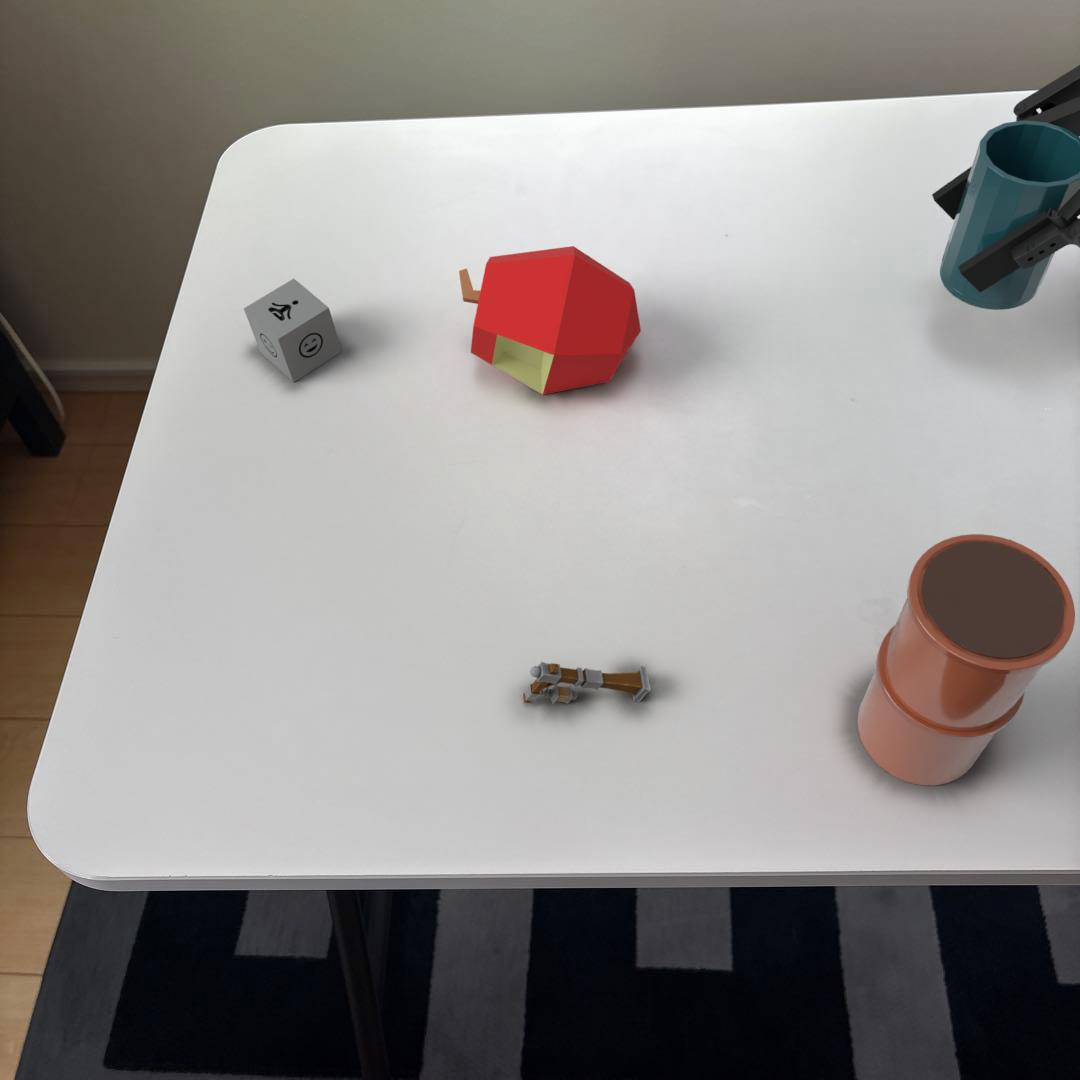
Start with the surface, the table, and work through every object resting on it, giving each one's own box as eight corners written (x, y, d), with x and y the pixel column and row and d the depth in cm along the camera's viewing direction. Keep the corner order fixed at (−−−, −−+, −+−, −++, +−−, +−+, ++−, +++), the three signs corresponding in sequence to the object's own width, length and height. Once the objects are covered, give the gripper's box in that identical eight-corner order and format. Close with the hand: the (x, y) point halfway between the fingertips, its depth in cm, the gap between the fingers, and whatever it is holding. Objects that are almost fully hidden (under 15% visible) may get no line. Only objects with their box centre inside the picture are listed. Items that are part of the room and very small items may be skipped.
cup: (1039, 315, 79) (1094, 191, 70) (937, 303, 80) (978, 179, 71) (1038, 251, 83) (1090, 125, 74) (941, 240, 84) (980, 115, 75)
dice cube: (260, 352, 91) (243, 308, 87) (308, 322, 92) (293, 278, 88) (293, 382, 88) (277, 339, 84) (341, 351, 90) (328, 307, 86)
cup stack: (984, 803, 65) (1078, 682, 52) (847, 775, 67) (905, 651, 53) (986, 685, 70) (1074, 546, 56) (857, 661, 71) (914, 521, 58)
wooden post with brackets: (509, 685, 70) (533, 652, 67) (619, 694, 73) (647, 663, 70) (511, 709, 69) (536, 677, 66) (622, 719, 72) (651, 688, 69)
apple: (618, 436, 85) (433, 397, 84) (629, 335, 92) (459, 298, 91) (656, 324, 75) (448, 279, 75) (665, 222, 83) (476, 179, 82)
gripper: (1390, 152, 61) (1018, 365, 75) (1249, -28, 73) (949, 184, 87) (1348, 72, 57) (962, 312, 71) (1206, -106, 69) (898, 130, 83)
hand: (955, 242), depth 79 cm, fingers closed on cup, 7 cm apart
